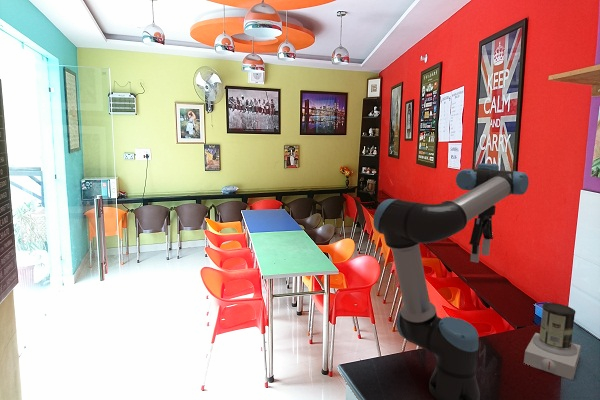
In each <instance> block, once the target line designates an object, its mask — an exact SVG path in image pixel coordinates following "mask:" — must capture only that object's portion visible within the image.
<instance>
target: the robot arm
mask: <svg viewBox="0 0 600 400" xmlns="http://www.w3.org/2000/svg"><path fill="white" fill-rule="evenodd" d="M499 169H500V167H499V165H498V164H497V163H477V166H476V168H465V169H461V170H460V171H458V173H457V174H456V175H455V184H456V186H457V188H458V189H460V190H462V191H467V192H466V193H463V194H462V195H460V196H458V197H455V199H453V200H444V201H442V202H441V203H436V204H434V203H433V204H432V203H425V202H422V203H421V202H417V201H416V202H415V201H409V200H403V199H400V198H397V199H396V198H388V199H384V200H383V201H382V202H380V204H378V206H377V208H376V210H375V212H374V215H373V223H372V224H373V227H374V229H375V231H376V232H378V233H379V234H380V235H383V237H384V243H385V246H386V247H387V248H389V249H391V252H392V258H393V262H394V266H395V271H396V276H397V280H398V285H399V289H400V294H401V298H402V299H401V300H402V303H403V305H402V306H401V308H400V309H399V312H398V314H397V319H396V323H395V325H396V329H397V332H398V333H399V335H400V336H401V337H402V338H404V339H405V340H406V341H407V342H409V343H412V344H413V345H416V346H417V347H420V348H421V349H423V350H425V351H426V352H430V353H431V354H434V355H435V356H436V364H435V365H436V366H435V368H434V371H433V372H432V374H431V376H430V378H429V381H428V382H429V383H428V390H429V392H430V394H431V395H432V397H433V398H435V400H480V397H481V393H480V392H481V391H480V388H479V384H478V381H477V376H476V370H477V362H478V352H479V351H478V350H479V347H480V342H479V333H478V331H477V329H476V328H475V326H473V325H472V324H471V323H469V321H466V320H464V319H461V318H458V317H453V316H445V317H442V318H441V317H439V316H438V313H437V308H436V306H435V305H434V304H433V302H431V301H430V297H429V292H428V287H427V281H426V276H425V270H424V264H423V260H422V258H423V257H422V254H421V248H420V244H430V243H435V242H439V241H442V240H445V239H448V238H450V237H452V236H455V235H456V234H458V233H460V232H461V231H462V230H464V229H465V228H466V227H467V226H468V225H467V224H468V222H469V221H472V220H473V219H474V220H473V221H474V222H473V223H474V224H473V227H472V231H471V237H470V241H469V243H468V244H469V245H471V250H470V251H471V252H470V260H469V261H470V262H471V263H472V262H473V263H477V264H478V263H480V250H481V255H483V256H487V257H489V256H490V250H491V249H490V248H491V240H493V239H494V236H493V222H492V221H493V216H495V215H496V208H497V207H496V204H497V203H499V202H501V201H502V200H503V199H505V198H506V197H508V196H510V195H514V196H517V195H520V196H521V195H524V194H526V192H527V190H528V188H529V185H530V184H529V183H530V182H529V176H528V174H527V173H526V172H522V171H517V170H499ZM482 236H483V238H482ZM481 240H482V244H481V245H480V243H481Z"/></svg>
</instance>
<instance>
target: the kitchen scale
mask: <svg viewBox="0 0 600 400" xmlns="http://www.w3.org/2000/svg"><path fill="white" fill-rule="evenodd" d="M539 338H540V332H539V333H538V332H535V333H534V335H533V336H532V337H531V340H530V342H529V343H528V345H527V347H526V349H525V351H524V358H523V364H524V363H525V364H524V365H526V364H527V365H526V366H529V365H530V366H529V367H532V368H535V369H538V370H541V371H544V372H547V373H550V374H553V375H556V376H559V377H562V378H564V379H567V380H570V381H574V379H575V378H574V377H575V375H576V371H577V367H578V363H579V359H580V355H581V345H580V344H577V343H573V342H571V348H570V349H568V350H559V349H554V348H551V347H548V346H546V345H544V344H543V343H541V342H540V340H539Z"/></svg>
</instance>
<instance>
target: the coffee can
mask: <svg viewBox="0 0 600 400" xmlns="http://www.w3.org/2000/svg"><path fill="white" fill-rule="evenodd" d="M575 316H576V310H575V309H574V308H572V307H570V306H568V305H564V304H561V303H556V302H545V303H543V304H542V311H541V319H540V320H541V321H540V330H539V334H540V338H539V340H540V342H541V343H543V344H544V345H546V346H548V347H551V348H554V349H559V350H568V349H570V348H571V343H572V338H573V331H574V323H575V322H574V321H575Z"/></svg>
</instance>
